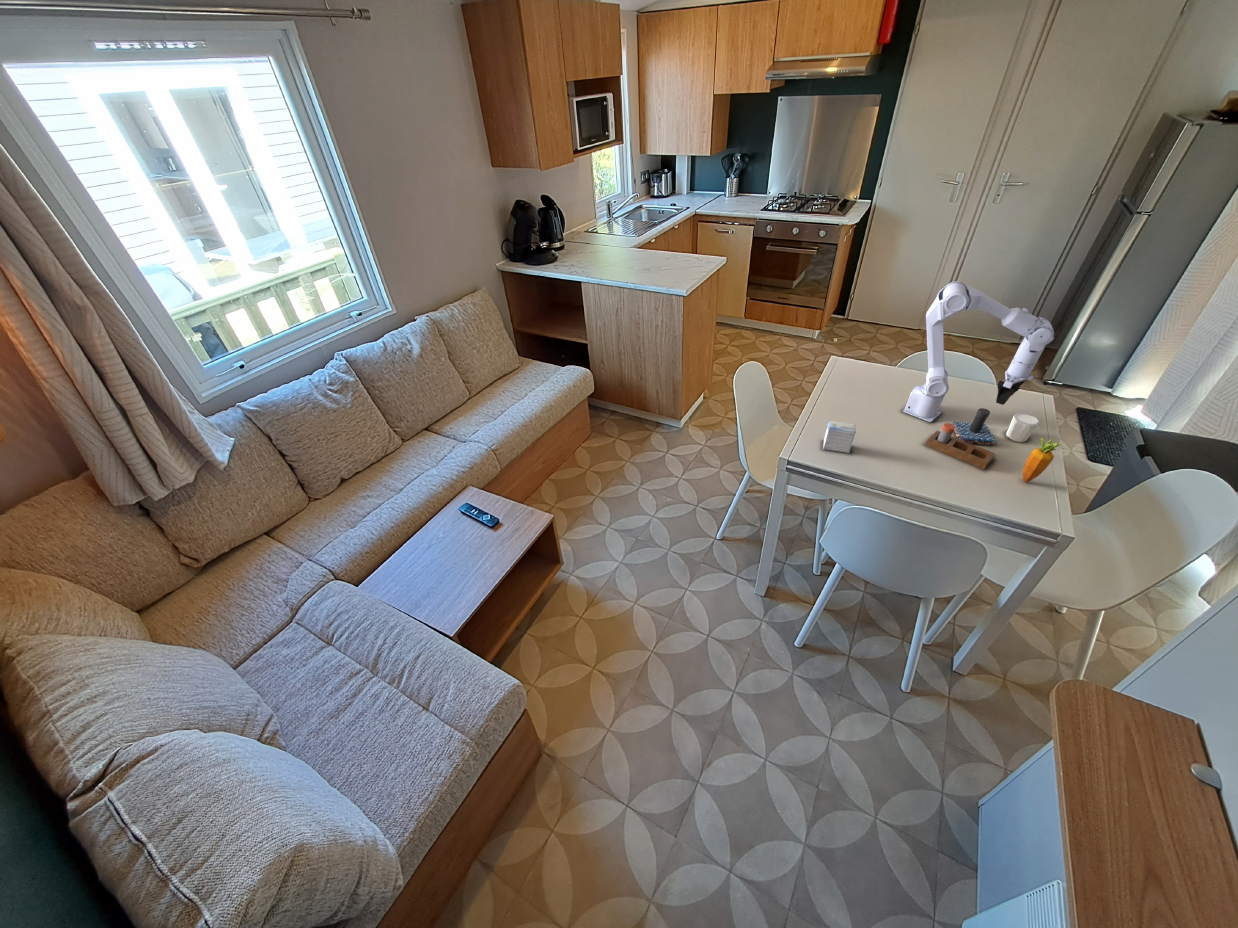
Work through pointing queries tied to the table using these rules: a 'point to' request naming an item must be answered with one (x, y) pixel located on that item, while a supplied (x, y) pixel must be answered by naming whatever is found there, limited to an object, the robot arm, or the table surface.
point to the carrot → (1038, 461)
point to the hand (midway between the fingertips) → (1004, 398)
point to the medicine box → (839, 436)
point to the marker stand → (962, 450)
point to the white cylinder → (1022, 427)
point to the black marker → (979, 420)
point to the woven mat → (973, 434)
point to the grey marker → (946, 433)
